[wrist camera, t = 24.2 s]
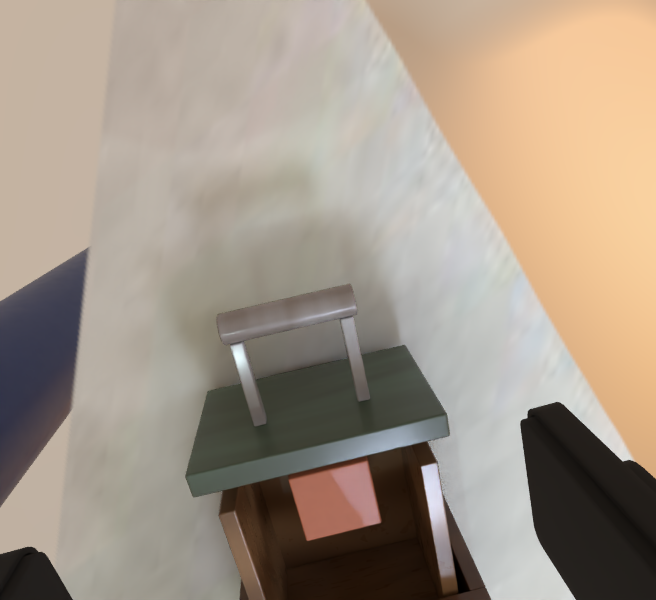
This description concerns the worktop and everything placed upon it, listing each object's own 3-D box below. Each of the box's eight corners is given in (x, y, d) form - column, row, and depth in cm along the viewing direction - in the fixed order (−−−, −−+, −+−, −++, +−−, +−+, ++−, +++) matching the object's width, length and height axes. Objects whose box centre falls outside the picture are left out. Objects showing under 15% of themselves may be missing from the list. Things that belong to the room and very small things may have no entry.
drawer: (175, 296, 26) (138, 356, 19) (388, 247, 26) (428, 288, 19) (266, 569, 32) (264, 688, 25) (436, 527, 32) (479, 634, 26)
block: (302, 488, 29) (306, 542, 25) (286, 432, 28) (288, 479, 24) (368, 472, 29) (382, 523, 25) (355, 415, 28) (368, 460, 24)
